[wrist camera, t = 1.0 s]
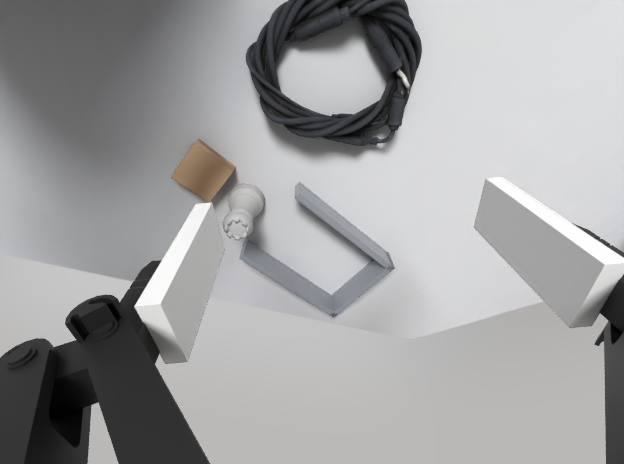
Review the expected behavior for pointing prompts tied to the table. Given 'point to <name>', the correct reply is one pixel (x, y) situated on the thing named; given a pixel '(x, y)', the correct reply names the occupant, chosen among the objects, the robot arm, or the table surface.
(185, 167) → the walnut tile
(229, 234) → the rook chess piece
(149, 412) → the robot arm
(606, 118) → the table surface
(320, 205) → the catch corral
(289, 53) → the table surface
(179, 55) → the table surface
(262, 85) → the cable
